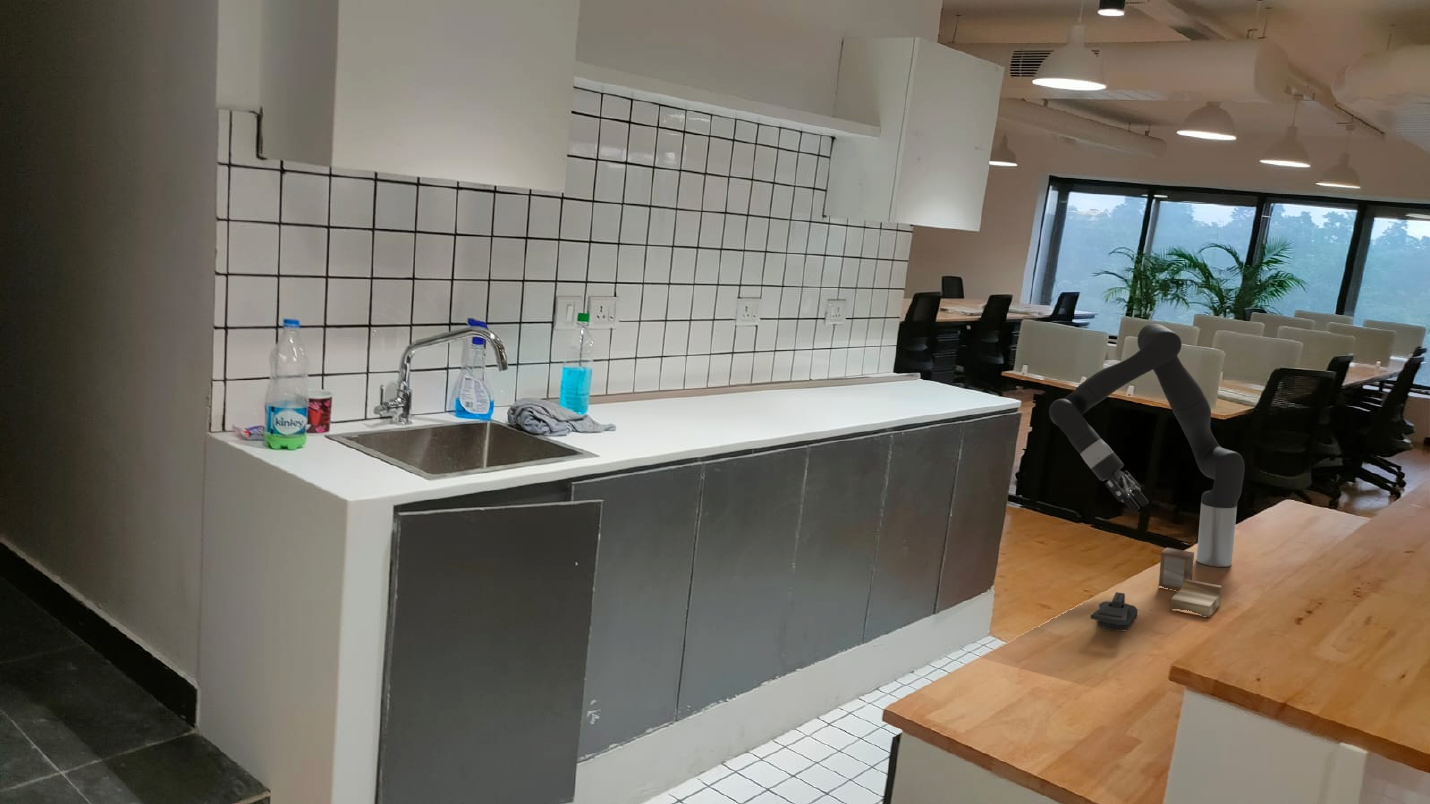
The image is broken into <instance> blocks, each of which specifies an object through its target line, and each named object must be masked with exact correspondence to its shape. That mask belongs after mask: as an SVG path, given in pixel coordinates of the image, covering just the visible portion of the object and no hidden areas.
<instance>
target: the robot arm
mask: <svg viewBox="0 0 1430 804" xmlns="http://www.w3.org/2000/svg"><path fill="white" fill-rule="evenodd" d="M1136 341H1137V346H1138V349H1139V350H1138V351H1137V352H1136V353H1134V354H1133V355H1132V356H1131V355H1130V357H1127V358H1126V359H1124V360H1122V361H1120V362H1117V363H1115V364H1113V365H1109V366H1107V367H1105V368H1103V369H1101V370H1099V371H1098V372H1096V373H1094V374H1093V375H1091V376H1090V377H1088V378H1087V379H1086V380H1084V381H1083V382H1081V383H1080V384H1079V385H1078V386H1077V387H1076V388H1075V389H1074V390H1073V392H1071V393H1069V394H1068V395H1066V396H1065V397H1064V398H1059V399H1056V400H1054V401H1053V402H1052V403H1051V404H1050V406H1049V409H1048V414H1049V418H1050V420H1051V422H1052V423H1053V424H1055V425H1056V426H1058V427H1059V429H1060V430H1061V431H1062V432H1063V434H1064V435H1066V437H1067V439H1068V440H1069V442H1070V444H1071V445H1072V447H1074V449H1075V450H1076V451H1077V452H1078V453H1079V454H1080V455H1079V456H1081V458H1082V460H1083V461H1084V462H1085V464H1087V466H1088V467H1089V468H1090V470H1091V471H1092V472H1093V473H1094V474H1095V475H1096V477H1097V478H1098V480H1099V481H1102V482H1104V481H1106V480H1107V481H1106V482H1105V484H1104V485H1105V486H1106V488H1107V489H1109V491H1110V493H1111V494H1112V496H1114V497H1115V498H1116V500H1117V501H1118V502H1121V503H1124V505H1125V506H1127V508H1128V509H1129V510H1130V511H1131V512H1132V513H1136V512H1137V511H1139V510H1140V506H1141V507H1145V506H1146V505H1148V504H1149V500H1148V498H1146V496H1145V495H1144V494H1143V492H1141V487H1142V486H1141V485H1140V483H1139V482H1138V481H1137V480H1136V479H1135V478H1134V477H1133V476H1132V474H1131V473H1130V472H1129V471H1128V470H1124V471H1122V470H1121V469H1122V468H1123V467H1124V463H1123V462H1122V460H1121V459H1120V458H1119V456H1118V455H1117V454H1116V453H1115V451H1113V450H1112V448H1111V447H1110V445H1108V443H1106V442H1105V441H1104V440H1103V439H1102V438H1101V437H1100V435H1099V434H1098V433H1097V432H1096V431H1095V429H1094V428H1093V426H1091V425H1090V424H1089V423H1088V422H1087V421H1086V419H1085V418H1084V416H1083V415H1084V414H1085V413H1086V412H1088V411H1089V410H1090V409H1091V408H1092V407H1094V406H1097V404H1099V403H1101V402H1102V401H1103V400H1105V399H1106V398H1108V397H1109V396H1110V395H1112V394H1113V393H1115V392H1116V391H1118V390H1120V389H1121V388H1122V387H1124V386H1126V385H1128V384H1129V383H1131V382H1132V381H1134V380H1135V379H1138V378H1140V377H1141V376H1143V375H1145V374H1147V373H1149V372H1150V371H1154V373H1155V375H1156V377H1157V380H1158V383H1159V384H1160V385H1159V386H1160V387H1161V390H1162V391H1163V394H1164V396H1165V398H1166V400H1167V403H1168V404H1169V407H1170V409H1171V411H1172V413H1173V414H1174V416H1175V419H1176V420H1177V422H1178V424H1179V425H1180V427H1181V429H1182V431H1183V433H1184V435H1185V438H1186V439H1187V441H1188V444H1189V446H1190V448H1191V451H1192V453H1193V455H1194V458H1195V459H1194V460H1195V462H1196V464H1197V467H1198V469H1199V471H1200V472H1201V473H1202V474H1203V475H1204V476H1205V477H1207V478H1208V479H1212V480H1213V486H1212V489H1211V490H1207V491H1204V492H1203V493H1202V495H1201V500H1200V514H1199V525H1198V526H1199V527H1198V539H1197V548H1196V561H1197V562H1198V563H1200V564H1201V565H1205V566H1210V567H1215V568H1216V567H1217V568H1219V567H1220V568H1225V567H1226V568H1227V567H1231V566H1232V565H1233V564H1232V563H1233V554H1234V544H1235V534H1236V521H1237V519H1236V518H1237V510H1238V509H1237V508H1238V501H1239V499H1240V497H1241V495H1242V490H1243V484H1244V478H1245V461H1244V458H1243V456H1242V455H1241V454H1240V453H1239V452H1237V451H1234V450H1230V449H1227V448H1223V447H1222V446H1221V445H1220V444H1219V443H1218V441H1217V440H1216V437H1215V436H1214V434H1213V432H1212V429H1211V422H1212V409H1211V405H1210V404H1209V401H1208V400H1207V397H1206V395H1205V393H1204V391H1203V389H1202V388H1201V387H1200V385H1199V383H1197V381H1196V380H1195V379H1194V377H1193V376H1192V374H1191V373H1190V372H1189V371H1188V370H1187V368H1186V367H1185V366H1184V364H1183V363H1182V362H1181V360H1180V358H1179V357H1178V354H1180V352H1181V350H1182V339H1181V338H1180V336H1179V335H1178V334H1177V332H1175V331H1173V329H1170V328H1168V327H1166V326H1165V325H1162V324H1158V323H1150V324H1147V325H1145V326H1143V327H1142V328H1141V329H1140V330H1139V333H1138V335H1137V340H1136ZM1132 496H1133V497H1132ZM1134 499H1135V500H1134ZM1138 504H1139V505H1138Z"/></svg>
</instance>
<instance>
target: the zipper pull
mask: <svg viewBox="0 0 1430 804" xmlns="http://www.w3.org/2000/svg"><path fill="white" fill-rule="evenodd" d="M1125 594H1126V593H1124V592H1118V591H1116V592H1115V593H1114V595H1113V598H1112V600H1111V601H1109V600H1106V601H1103V602H1100V603H1099V606H1098V609H1097V610H1095V611H1094V612H1093V613H1091V614H1090V619H1091V620H1095V621H1097V627H1100V628H1102V629H1105V630H1109V631H1115V632H1123V631H1122V630H1127V631H1129V629H1130V628H1131V627H1130V626H1132V625H1133V624H1134V623H1135V621H1136V620H1137V619H1138V613H1139V612H1138V611H1139V610H1138V608H1137V607H1136V606H1135V605H1133V604H1130V603H1125V601H1126V600H1125V598H1126V597H1125V596H1126V595H1125ZM1136 618H1137V619H1136ZM1135 619H1136V620H1135ZM1134 620H1135V621H1134ZM1132 623H1133V624H1132ZM1129 627H1130V628H1129ZM1128 628H1129V629H1128Z"/></svg>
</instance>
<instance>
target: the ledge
mask: <svg viewBox="0 0 1430 804" xmlns="http://www.w3.org/2000/svg"><path fill="white" fill-rule="evenodd" d="M1222 587H1223V586H1222V585H1219V584H1212V583H1209V582H1203V581H1199V580H1198V581H1197V580H1193V579H1192V580H1188V579H1184V580H1183V584H1182V588H1181V589H1180V590H1179V591H1178V592H1176V593H1175V594H1174V595H1173V596H1171V598H1170V609H1180V610H1187V611H1188V610H1189V611H1192V612H1194V613H1198V614H1201V615H1202V616H1206V617H1209V616H1210V615H1211V616H1212V615H1213V614H1214V613H1215V611H1216V610H1217V609H1218V607H1220V605H1221V598H1222V597H1221V596H1222ZM1170 609H1169V610H1170ZM1211 616H1210V617H1211ZM1210 617H1209V618H1210Z"/></svg>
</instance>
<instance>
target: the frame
mask: <svg viewBox="0 0 1430 804" xmlns="http://www.w3.org/2000/svg"><path fill="white" fill-rule="evenodd" d="M1194 559H1195V551H1188V550H1181V549H1177V548H1172V547H1166V548H1164V549H1163V550H1162V551H1161V552H1160V562H1159V563H1160V565H1159V578H1158V579H1159V580H1158V587H1159V586H1162V587H1164V588H1168V589H1172V590H1176V591H1179V590H1180V589H1181V588H1182V584H1183V580H1184V579H1188V580H1193V570H1194ZM1176 591H1175V592H1176Z"/></svg>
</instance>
